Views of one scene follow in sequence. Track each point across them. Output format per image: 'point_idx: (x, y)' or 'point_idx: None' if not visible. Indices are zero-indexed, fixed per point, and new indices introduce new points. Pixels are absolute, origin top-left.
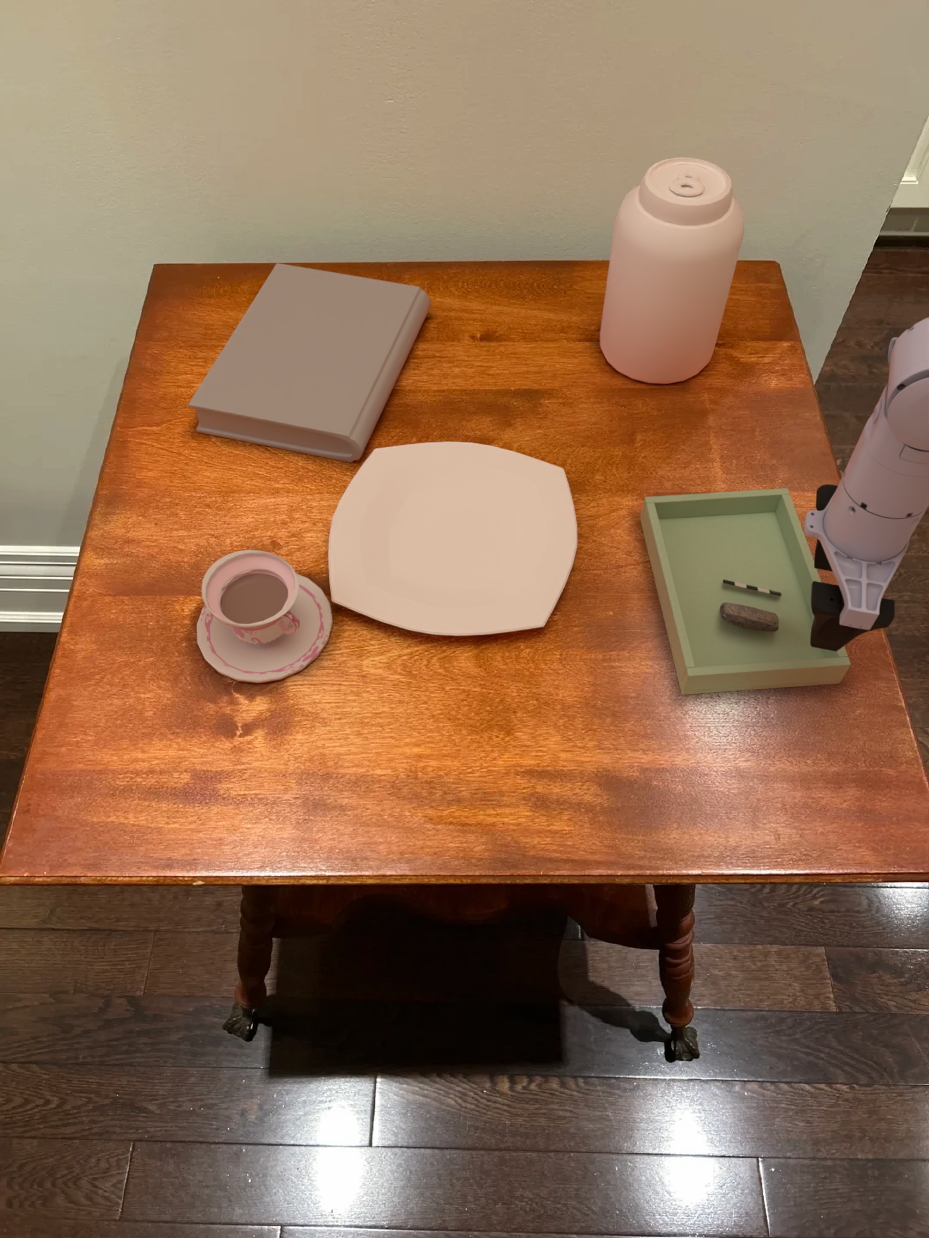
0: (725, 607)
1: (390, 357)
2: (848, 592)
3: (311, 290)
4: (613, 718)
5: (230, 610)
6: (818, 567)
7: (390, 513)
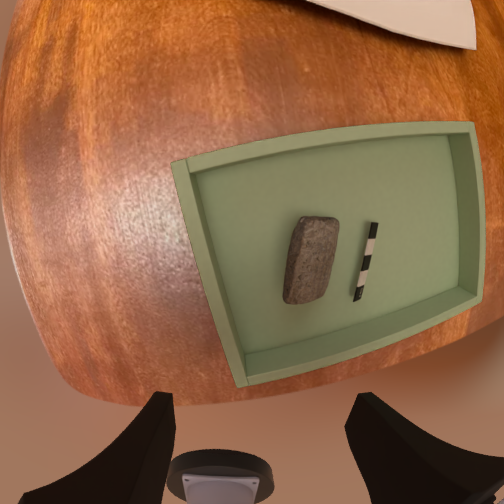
0: (319, 222)
1: None
2: None
3: None
4: (136, 85)
5: None
6: (357, 401)
7: None
